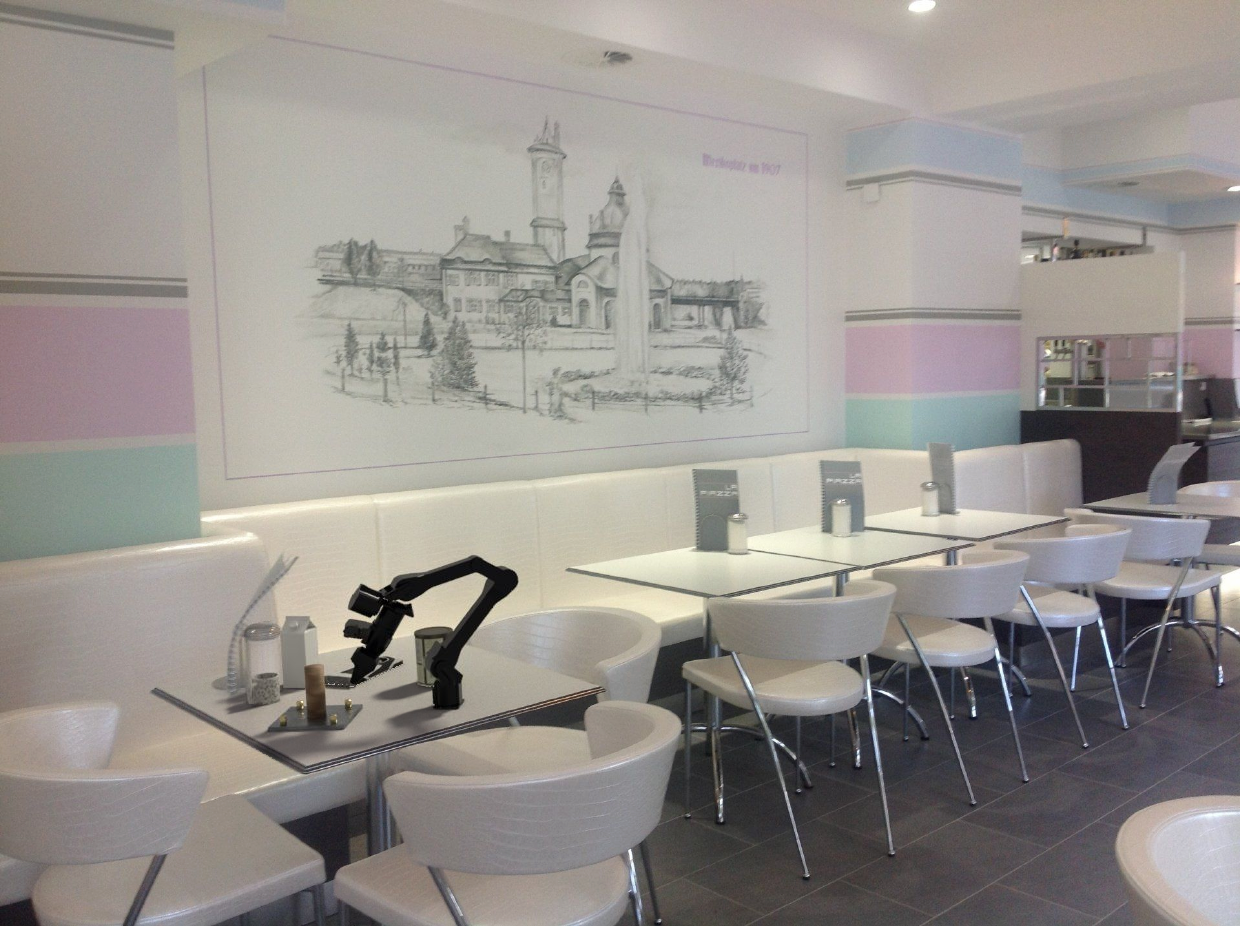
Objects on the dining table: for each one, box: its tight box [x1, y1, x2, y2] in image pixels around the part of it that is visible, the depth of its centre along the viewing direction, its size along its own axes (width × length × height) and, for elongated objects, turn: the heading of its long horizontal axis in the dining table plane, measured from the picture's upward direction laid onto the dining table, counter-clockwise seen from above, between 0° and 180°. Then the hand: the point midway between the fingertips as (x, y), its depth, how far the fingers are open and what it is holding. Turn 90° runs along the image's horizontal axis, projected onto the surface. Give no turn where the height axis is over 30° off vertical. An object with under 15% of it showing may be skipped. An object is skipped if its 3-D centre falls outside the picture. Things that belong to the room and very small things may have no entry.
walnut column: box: [304, 663, 327, 718], centre depth 255 cm, size 4×4×12 cm
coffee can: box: [413, 625, 454, 687], centre depth 284 cm, size 10×10×14 cm
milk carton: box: [279, 615, 320, 689], centre depth 286 cm, size 7×7×19 cm
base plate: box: [267, 698, 363, 733], centre depth 255 cm, size 18×16×3 cm
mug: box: [246, 672, 281, 706], centre depth 271 cm, size 10×7×7 cm, turn 158°
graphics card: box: [324, 654, 404, 688], centre depth 294 cm, size 10×3×25 cm
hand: (356, 675), depth 259 cm, fingers open, 9 cm apart
